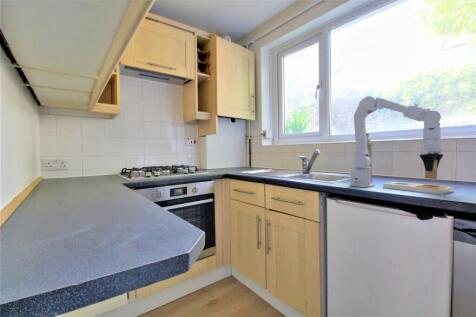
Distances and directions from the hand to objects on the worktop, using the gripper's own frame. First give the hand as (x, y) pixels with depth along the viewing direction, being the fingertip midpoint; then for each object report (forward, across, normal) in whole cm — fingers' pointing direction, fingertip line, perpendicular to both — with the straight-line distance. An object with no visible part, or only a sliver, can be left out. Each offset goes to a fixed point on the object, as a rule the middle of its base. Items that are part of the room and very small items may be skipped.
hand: (431, 170), depth 99 cm
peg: (+3, 0, 0) cm, 3 cm away
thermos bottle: (+9, +14, +38) cm, 41 cm away
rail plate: (+9, 0, +6) cm, 10 cm away
